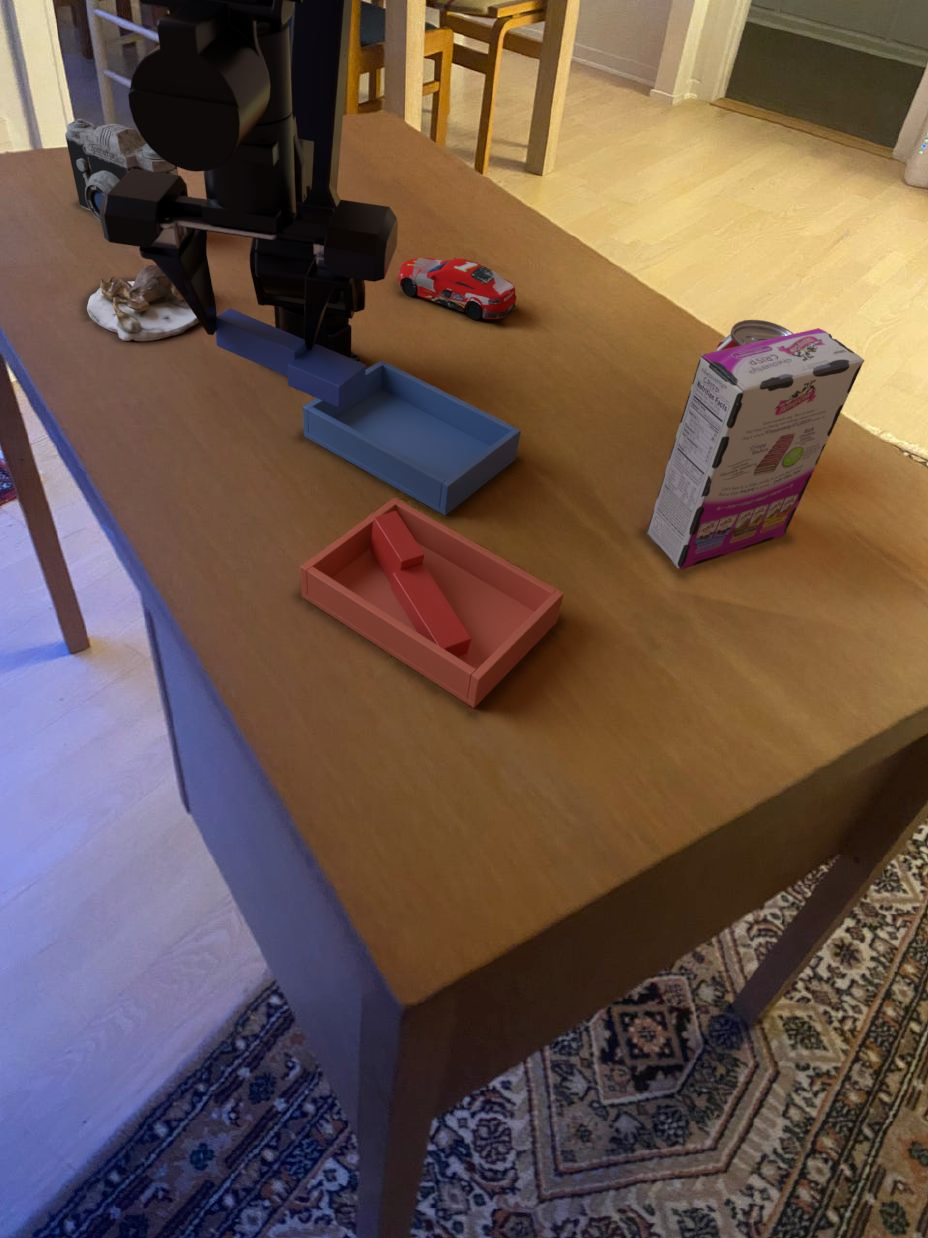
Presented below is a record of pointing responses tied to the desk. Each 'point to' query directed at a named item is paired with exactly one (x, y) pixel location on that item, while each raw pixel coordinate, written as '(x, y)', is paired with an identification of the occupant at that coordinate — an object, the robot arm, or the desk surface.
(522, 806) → the desk surface
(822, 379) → the candy bar box
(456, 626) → the stepped red stick
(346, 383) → the blue stepped bar
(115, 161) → the camera
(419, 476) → the blue bin
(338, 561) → the terracotta bin
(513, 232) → the desk surface
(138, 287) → the frog figurine
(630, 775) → the desk surface
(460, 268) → the race car
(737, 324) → the soda can
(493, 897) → the desk surface
